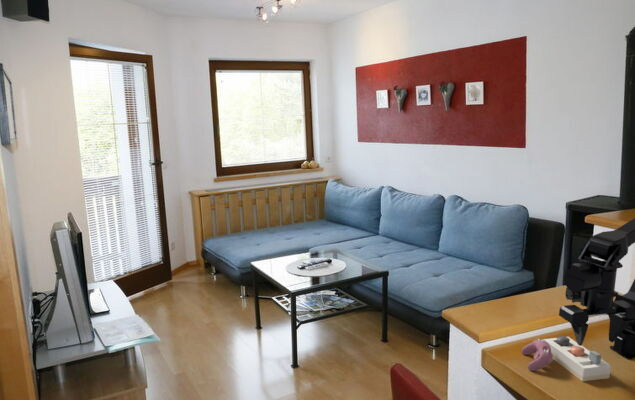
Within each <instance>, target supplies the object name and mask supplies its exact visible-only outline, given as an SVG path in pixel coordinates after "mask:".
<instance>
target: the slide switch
mask: <svg viewBox="0 0 635 400" xmlns="http://www.w3.org/2000/svg"><path fill="white" fill-rule="evenodd" d="M589 351H590V355H589V359H590V360H591V361H592V363H591V365H593V364H600V362H601V359H602V354H601V353H599V352H597V351H596V350H589Z"/></svg>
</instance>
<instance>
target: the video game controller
mask: <svg viewBox="0 0 635 400" xmlns="http://www.w3.org/2000/svg"><path fill="white" fill-rule="evenodd" d="M521 354H522V355H525V356H529V355H533V359H534V360H532V361H530V362H529V363H528V366H527V368H528V370H529V371H531V372H536V371H539V370H542V369H544V368H545V367H546V366H548V365H549V366H550V364H551V363H552V362H553V360H554V359H552V358H553V354H552V353H551V347H550V345H549V344H548V343H547V342H546V341H544V340H543V339H540V338H538V339H534V340H533V341H531V342H530V343H528V344H526V345H524V346H523V347H522V348H521Z"/></svg>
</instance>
